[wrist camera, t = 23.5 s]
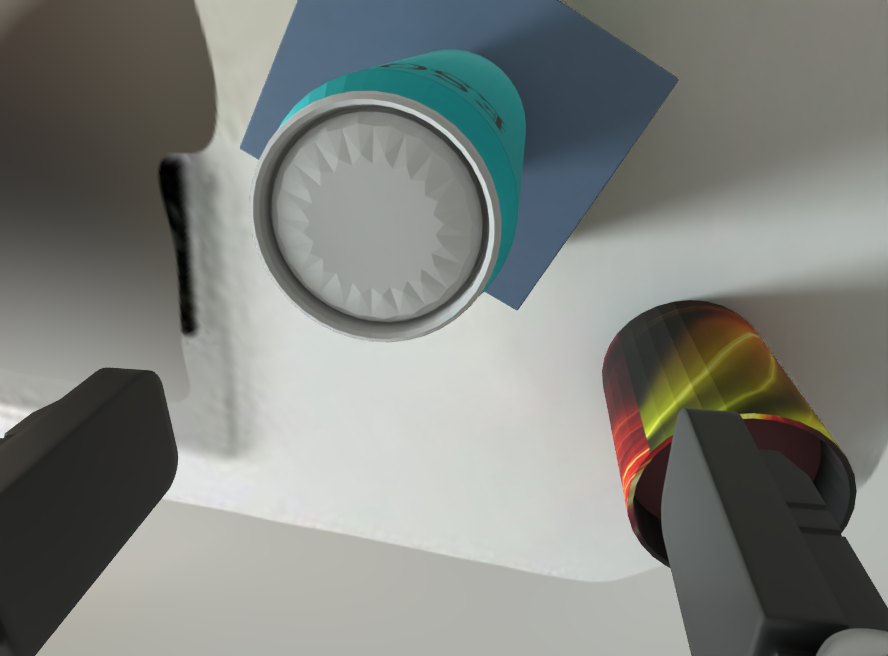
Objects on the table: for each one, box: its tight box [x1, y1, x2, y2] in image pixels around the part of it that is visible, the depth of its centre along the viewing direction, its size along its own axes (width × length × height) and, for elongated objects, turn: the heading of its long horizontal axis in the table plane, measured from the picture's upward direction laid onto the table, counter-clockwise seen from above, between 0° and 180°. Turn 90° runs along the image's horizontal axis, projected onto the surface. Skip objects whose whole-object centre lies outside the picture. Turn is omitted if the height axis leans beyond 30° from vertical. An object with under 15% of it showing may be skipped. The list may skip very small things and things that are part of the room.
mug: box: [602, 301, 857, 568], centre depth 34 cm, size 10×14×12 cm
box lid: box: [240, 0, 679, 310], centre depth 26 cm, size 14×12×1 cm
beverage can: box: [250, 50, 526, 342], centre depth 19 cm, size 6×6×15 cm
